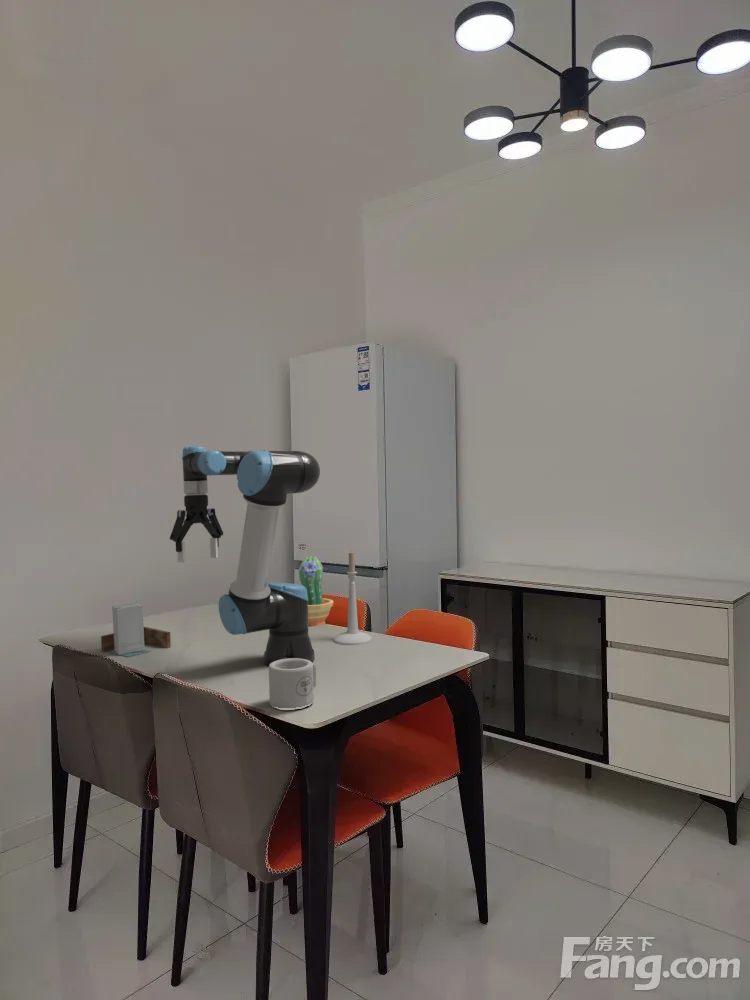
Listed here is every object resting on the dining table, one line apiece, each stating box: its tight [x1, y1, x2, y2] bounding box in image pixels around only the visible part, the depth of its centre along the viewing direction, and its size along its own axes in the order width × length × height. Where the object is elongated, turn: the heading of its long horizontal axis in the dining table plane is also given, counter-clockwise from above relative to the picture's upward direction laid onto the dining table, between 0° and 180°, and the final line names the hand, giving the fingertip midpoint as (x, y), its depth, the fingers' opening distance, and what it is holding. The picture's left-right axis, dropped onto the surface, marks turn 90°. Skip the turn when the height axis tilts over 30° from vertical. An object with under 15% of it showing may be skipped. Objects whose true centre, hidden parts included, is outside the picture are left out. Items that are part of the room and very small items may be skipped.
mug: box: [268, 658, 317, 708], centre depth 170 cm, size 14×11×10 cm
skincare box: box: [111, 602, 146, 656], centre depth 219 cm, size 8×6×15 cm
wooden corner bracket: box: [100, 626, 172, 653], centre depth 223 cm, size 14×16×5 cm
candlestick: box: [333, 551, 373, 646], centre depth 231 cm, size 13×13×30 cm
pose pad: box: [109, 649, 151, 658], centre depth 220 cm, size 10×8×1 cm
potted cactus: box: [298, 555, 335, 627], centre depth 258 cm, size 15×15×25 cm
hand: (198, 560), depth 225 cm, fingers open, 13 cm apart
